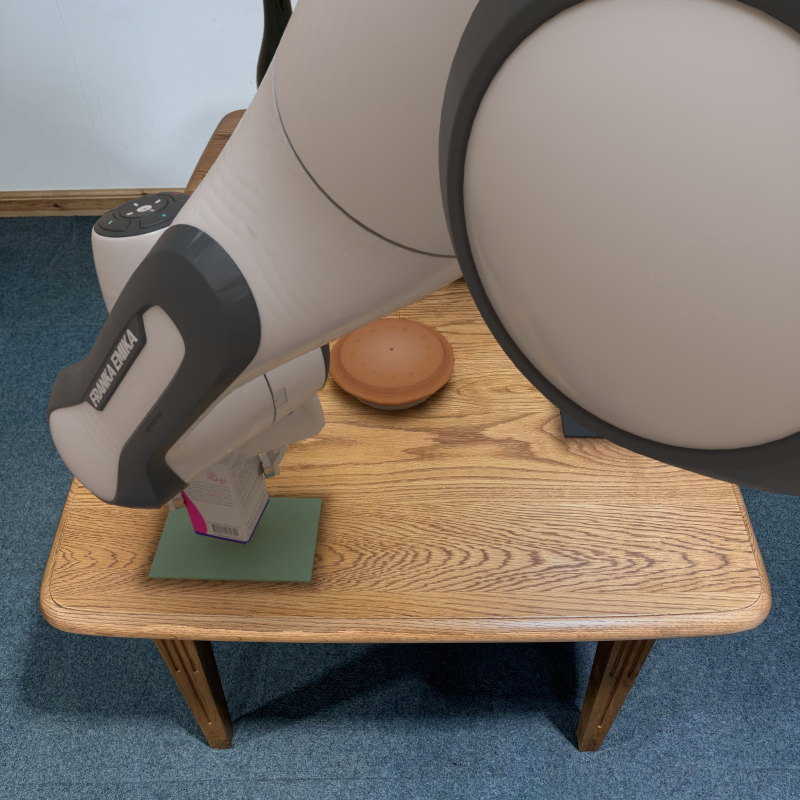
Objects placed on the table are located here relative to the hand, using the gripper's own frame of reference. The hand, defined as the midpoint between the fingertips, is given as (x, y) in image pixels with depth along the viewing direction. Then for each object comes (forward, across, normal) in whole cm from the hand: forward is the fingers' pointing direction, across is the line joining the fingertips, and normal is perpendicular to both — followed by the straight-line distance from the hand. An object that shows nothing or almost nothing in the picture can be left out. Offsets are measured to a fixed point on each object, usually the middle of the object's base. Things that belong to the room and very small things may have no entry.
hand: (225, 487), depth 69 cm
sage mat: (+8, 0, 0) cm, 8 cm away
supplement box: (+5, 0, 0) cm, 5 cm away
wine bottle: (+8, +31, +73) cm, 80 cm away
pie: (+8, +24, +15) cm, 30 cm away
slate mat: (+8, +47, +2) cm, 48 cm away
